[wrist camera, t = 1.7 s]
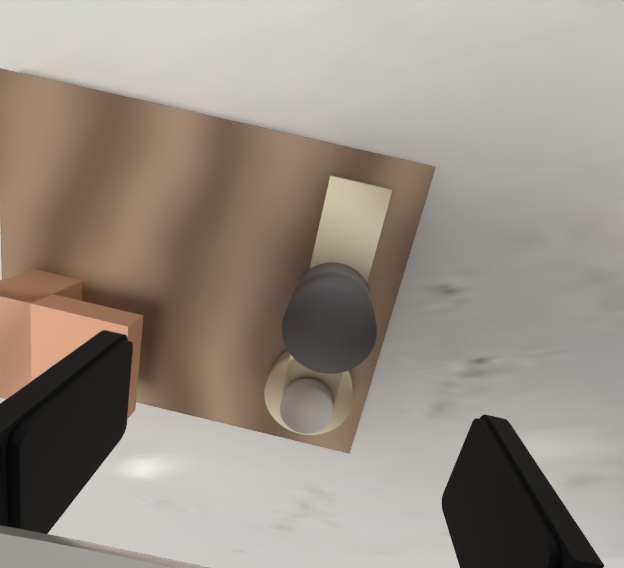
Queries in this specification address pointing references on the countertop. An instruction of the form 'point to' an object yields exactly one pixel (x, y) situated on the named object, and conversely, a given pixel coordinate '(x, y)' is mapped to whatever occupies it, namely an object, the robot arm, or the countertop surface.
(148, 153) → the board
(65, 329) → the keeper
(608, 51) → the countertop surface
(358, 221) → the link
